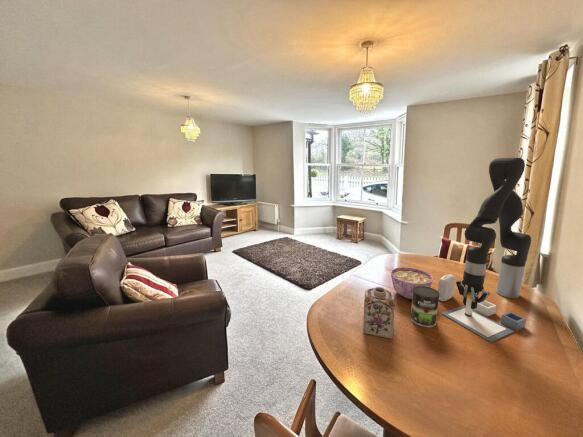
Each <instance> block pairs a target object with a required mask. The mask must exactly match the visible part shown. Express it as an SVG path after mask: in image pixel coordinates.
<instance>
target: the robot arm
mask: <svg viewBox="0 0 583 437" xmlns="http://www.w3.org/2000/svg"><path fill="white" fill-rule="evenodd" d="M525 167H526V164H525V160H524V159H523V158H522V157H498V158H493V159H492V160H491V161H490V162H489V165H488V174H489V178H490V181H491V185H492V188H493V192H492V193H491V194H490V195H488V196H487V197H486V198H485V199H484V201H483V202H482V204H481V206H480V208H479V210H478V213H477V214H476V216H475V217H474V218H473V219H472V221H471V222H470V223H469V224H468V226H467V227H466V228H465V231H464V238H465V239H466V241H469V242H473V243H477V244H481V246H470V247H468V248H467V251H466V258H465V259H466V260H465V263H464V269H463V276H462V280H458V281H455V284H456V287H457V290H458V294H459V295H461V296H462V298H463V300H462V304H463V306H465V307H466V300H467V294H468V293H471V296H472V303H471V309H473V310H474V309H476V308H477V304H478V303H480V302H483V301H484V300H485V301H486V299H488V298H489V297H490V294H491V293H490V292H489V291H486V290H485V288H484V283H485V277H486V272H487V271H486V270H487V260H488V254H489V253H490V252H489V251H490V249H491V247H492V246H493V244H494V242H495V240H496V238H497V232H496V230H495V229H494V228H491V227H487V226H484V225H493V224H496V223H497V222H498V225H499V244H500V245H501V247H502V248H504V249H506V250H510V251H513V252H516V253H515V254H506V255H502V257H501V260H500V261H501V263H500V267H499V274H498V278H497V284H496V290H495V291H496V293H497V294H498V295H500V296H502V297H504V298H509V299H519V298H520V295H521V289H522V284H523V280H524V279H523V278H524V274H525V268H526V263H527V261H528V256H529V251H530V248H531V244H532V237H531V235H530V234H527V233H521V232H517V231H513V230H512V227H513V225H515V223H516V222H517V221H519V220H520V219H521V217H522V216H523V214H524V207H523V201H522V198H521V197H520V196H519V195H518V193H517V192H515V191H514V189H515V187H517V184H518V183H519V181H520V179H521V178H522V176H523V175H524V173H525V172H524V171H525ZM480 293H481V295H480Z"/></svg>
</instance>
